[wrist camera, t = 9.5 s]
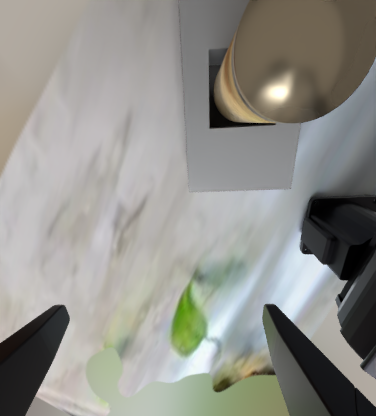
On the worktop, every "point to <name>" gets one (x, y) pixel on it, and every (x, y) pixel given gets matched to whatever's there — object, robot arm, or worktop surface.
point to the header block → (227, 135)
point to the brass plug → (295, 59)
